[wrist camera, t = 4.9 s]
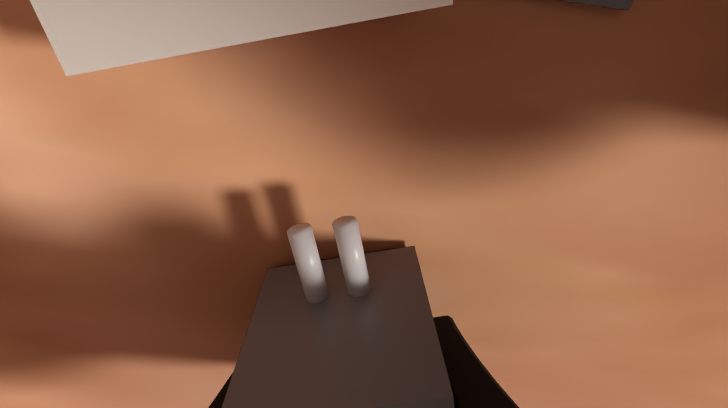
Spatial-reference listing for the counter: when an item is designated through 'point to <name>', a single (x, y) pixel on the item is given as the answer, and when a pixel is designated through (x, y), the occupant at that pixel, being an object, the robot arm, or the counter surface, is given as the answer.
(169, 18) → the power strip
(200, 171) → the counter surface
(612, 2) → the plate
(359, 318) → the charger
